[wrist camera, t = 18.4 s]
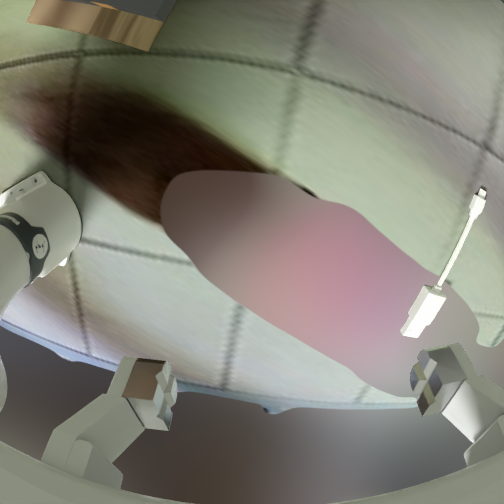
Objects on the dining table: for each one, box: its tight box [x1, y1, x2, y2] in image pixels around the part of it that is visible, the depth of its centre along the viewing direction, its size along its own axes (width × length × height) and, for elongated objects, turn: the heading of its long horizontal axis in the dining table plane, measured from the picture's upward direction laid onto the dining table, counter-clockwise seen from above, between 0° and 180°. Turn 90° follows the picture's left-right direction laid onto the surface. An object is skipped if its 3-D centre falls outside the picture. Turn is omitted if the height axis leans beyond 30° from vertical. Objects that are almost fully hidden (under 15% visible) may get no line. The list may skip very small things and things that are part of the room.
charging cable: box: [400, 188, 486, 338], centre depth 48 cm, size 5×32×3 cm, turn 165°
